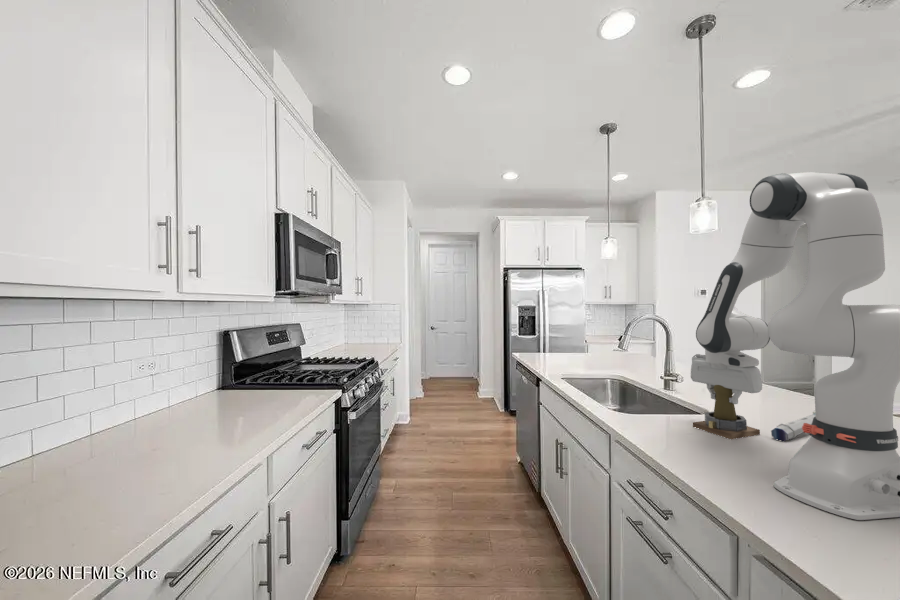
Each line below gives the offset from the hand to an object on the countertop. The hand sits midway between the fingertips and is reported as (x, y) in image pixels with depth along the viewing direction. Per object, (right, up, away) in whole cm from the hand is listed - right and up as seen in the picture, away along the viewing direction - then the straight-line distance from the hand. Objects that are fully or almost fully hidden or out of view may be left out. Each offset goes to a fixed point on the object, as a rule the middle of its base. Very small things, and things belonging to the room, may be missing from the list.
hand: (724, 401), depth 115 cm
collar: (0, -8, 0) cm, 8 cm away
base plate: (0, -9, 0) cm, 9 cm away
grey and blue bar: (+20, -9, -5) cm, 23 cm away
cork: (0, -6, 0) cm, 6 cm away
